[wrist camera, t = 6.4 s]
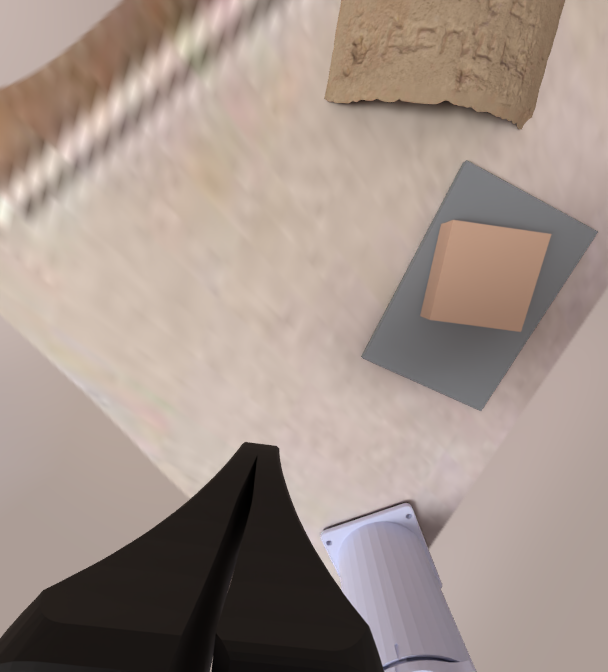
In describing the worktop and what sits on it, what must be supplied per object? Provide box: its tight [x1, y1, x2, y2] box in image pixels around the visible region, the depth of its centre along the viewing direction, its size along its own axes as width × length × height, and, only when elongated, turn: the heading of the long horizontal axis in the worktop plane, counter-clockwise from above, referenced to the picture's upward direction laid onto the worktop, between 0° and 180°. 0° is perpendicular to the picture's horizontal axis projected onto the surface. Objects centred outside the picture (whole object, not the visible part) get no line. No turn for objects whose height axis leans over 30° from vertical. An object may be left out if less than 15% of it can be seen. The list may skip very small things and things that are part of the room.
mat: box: [361, 160, 598, 411], centre depth 19 cm, size 14×10×1 cm
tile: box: [420, 220, 551, 332], centre depth 18 cm, size 6×2×6 cm
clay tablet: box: [324, 0, 565, 129], centre depth 15 cm, size 14×10×3 cm
